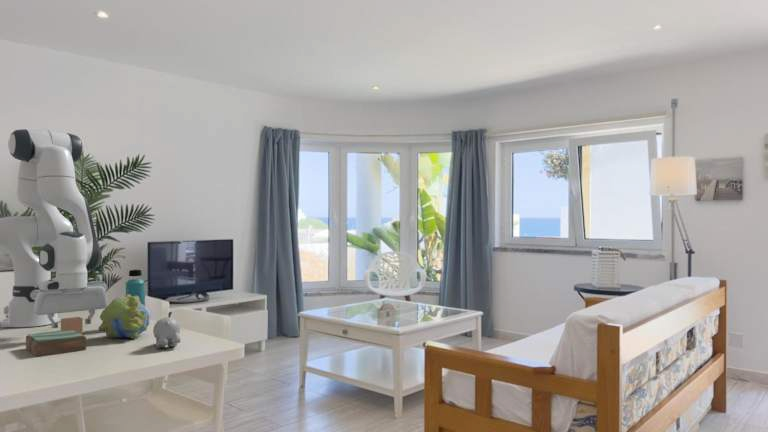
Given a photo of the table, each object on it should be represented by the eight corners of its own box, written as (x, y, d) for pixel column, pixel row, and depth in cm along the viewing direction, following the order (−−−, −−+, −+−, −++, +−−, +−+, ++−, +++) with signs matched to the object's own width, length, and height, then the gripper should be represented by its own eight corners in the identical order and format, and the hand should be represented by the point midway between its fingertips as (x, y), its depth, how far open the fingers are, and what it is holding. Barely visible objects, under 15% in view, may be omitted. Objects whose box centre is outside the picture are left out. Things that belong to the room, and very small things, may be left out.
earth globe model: (146, 285, 181) (96, 290, 172) (155, 305, 168) (101, 312, 160) (146, 323, 184) (96, 330, 176) (154, 346, 171) (101, 354, 163)
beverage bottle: (140, 328, 188) (140, 270, 188) (121, 328, 188) (121, 270, 188) (148, 324, 194) (149, 268, 195) (130, 324, 194) (130, 268, 195)
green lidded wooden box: (25, 348, 157) (26, 334, 157) (72, 342, 166) (72, 328, 166) (37, 356, 147) (37, 341, 147) (85, 349, 156) (85, 335, 156)
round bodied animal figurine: (174, 351, 165) (172, 323, 168) (183, 342, 156) (181, 313, 159) (148, 354, 161) (147, 325, 164) (157, 345, 152) (155, 315, 155)
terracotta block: (60, 337, 174) (60, 318, 174) (78, 334, 177) (78, 316, 177) (64, 339, 170) (64, 320, 170) (82, 337, 174) (82, 318, 174)
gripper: (103, 279, 183) (103, 320, 183) (32, 284, 169) (32, 329, 169) (109, 280, 178) (109, 322, 178) (37, 285, 164) (37, 331, 164)
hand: (71, 326), depth 173 cm, fingers open, 8 cm apart
